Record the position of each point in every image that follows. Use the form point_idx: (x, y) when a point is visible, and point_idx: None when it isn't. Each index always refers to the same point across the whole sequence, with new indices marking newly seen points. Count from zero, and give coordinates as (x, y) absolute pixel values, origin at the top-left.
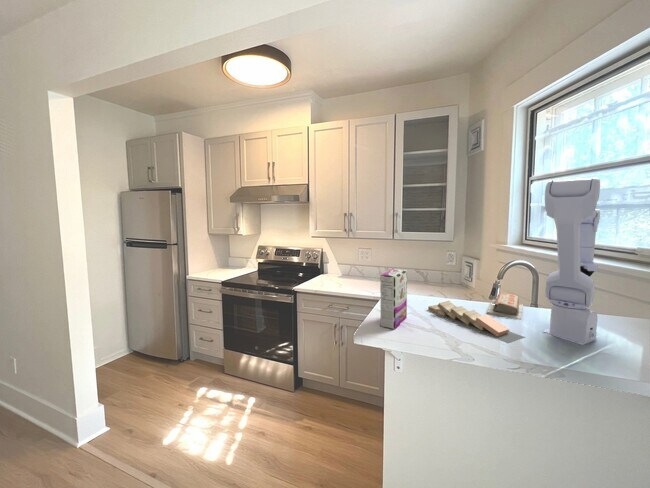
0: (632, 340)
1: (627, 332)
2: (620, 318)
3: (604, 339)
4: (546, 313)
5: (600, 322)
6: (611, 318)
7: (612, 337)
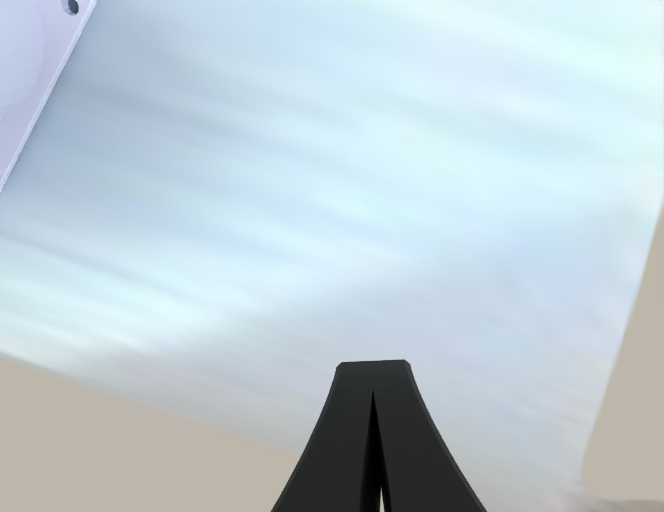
0: (133, 367)
1: (269, 396)
2: (540, 461)
3: (51, 245)
4: (555, 18)
5: (415, 342)
6: (528, 423)
7: (123, 298)
